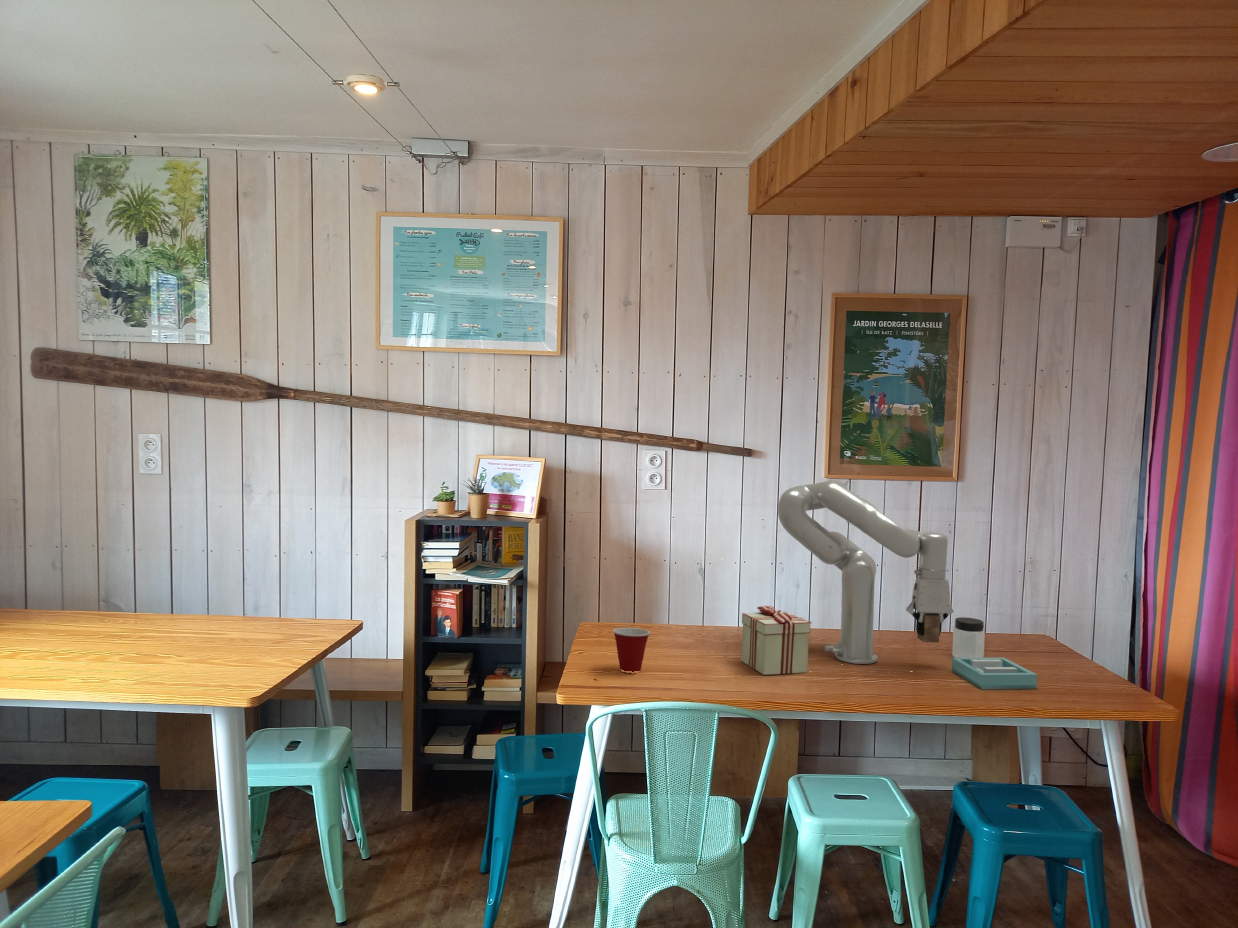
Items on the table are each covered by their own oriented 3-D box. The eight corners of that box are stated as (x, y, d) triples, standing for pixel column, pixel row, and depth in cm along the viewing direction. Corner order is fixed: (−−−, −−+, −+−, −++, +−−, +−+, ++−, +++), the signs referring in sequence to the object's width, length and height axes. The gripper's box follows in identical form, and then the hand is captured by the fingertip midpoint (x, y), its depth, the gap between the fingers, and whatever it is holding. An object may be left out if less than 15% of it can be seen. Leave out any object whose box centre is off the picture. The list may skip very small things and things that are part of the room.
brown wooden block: (924, 642, 232) (925, 615, 232) (917, 637, 237) (918, 611, 236) (938, 642, 233) (940, 615, 232) (931, 638, 237) (933, 612, 237)
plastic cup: (655, 668, 228) (656, 627, 228) (640, 678, 219) (641, 636, 218) (621, 663, 233) (622, 623, 232) (605, 673, 223) (606, 631, 223)
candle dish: (980, 689, 215) (981, 672, 215) (951, 671, 231) (952, 656, 231) (1036, 688, 217) (1037, 672, 216) (1003, 670, 233) (1004, 655, 232)
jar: (971, 663, 239) (973, 624, 239) (947, 656, 246) (949, 619, 246) (988, 659, 244) (990, 621, 244) (964, 652, 251) (965, 615, 250)
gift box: (819, 671, 229) (821, 612, 228) (766, 677, 222) (767, 617, 221) (786, 655, 245) (787, 600, 244) (734, 661, 238) (736, 604, 237)
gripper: (910, 575, 229) (906, 637, 230) (965, 577, 231) (961, 638, 232) (899, 571, 237) (895, 630, 238) (952, 572, 238) (949, 631, 239)
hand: (928, 633), depth 235 cm, fingers closed on brown wooden block, 4 cm apart
